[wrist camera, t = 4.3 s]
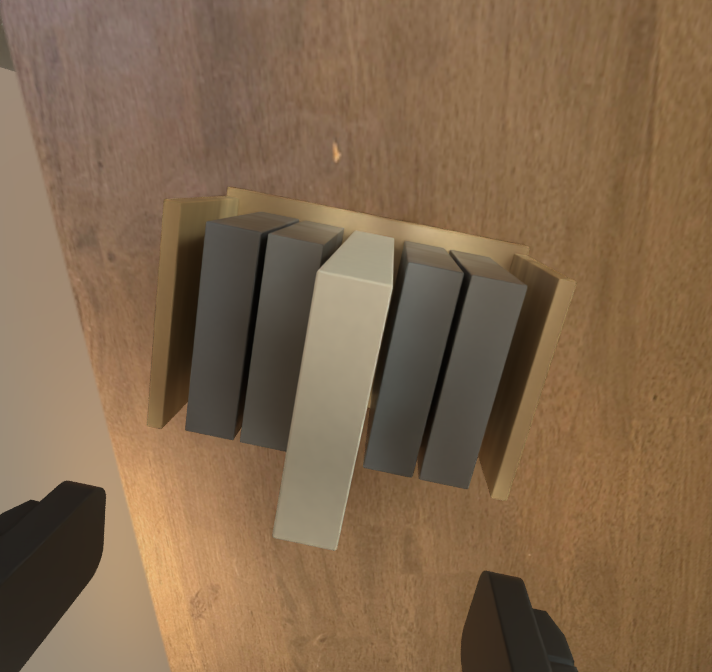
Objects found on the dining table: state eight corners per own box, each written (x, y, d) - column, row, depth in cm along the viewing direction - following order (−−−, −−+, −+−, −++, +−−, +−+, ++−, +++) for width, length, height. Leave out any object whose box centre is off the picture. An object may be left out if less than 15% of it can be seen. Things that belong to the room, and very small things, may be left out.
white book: (325, 384, 33) (271, 538, 19) (354, 229, 30) (316, 270, 16) (362, 392, 33) (336, 552, 18) (394, 238, 30) (393, 285, 16)
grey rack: (211, 369, 34) (140, 440, 25) (232, 186, 31) (158, 186, 21) (475, 423, 34) (506, 517, 24) (526, 245, 30) (585, 272, 21)
